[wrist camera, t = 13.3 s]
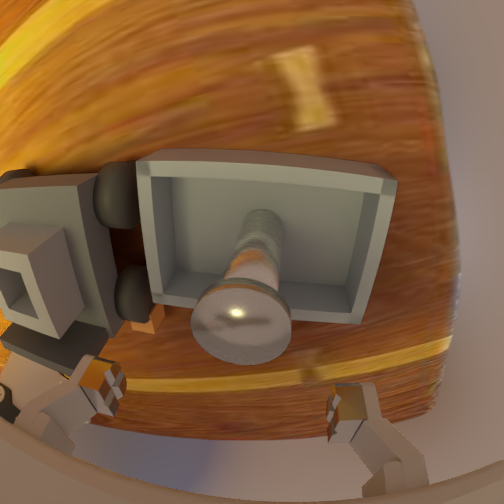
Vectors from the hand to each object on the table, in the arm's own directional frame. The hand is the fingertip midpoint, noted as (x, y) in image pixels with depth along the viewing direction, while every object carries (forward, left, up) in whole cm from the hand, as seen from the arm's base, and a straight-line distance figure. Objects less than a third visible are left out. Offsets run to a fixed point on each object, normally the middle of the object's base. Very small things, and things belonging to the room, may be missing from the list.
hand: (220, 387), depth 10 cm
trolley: (-2, +17, -15) cm, 22 cm away
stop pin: (0, 0, -14) cm, 14 cm away
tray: (0, 0, -15) cm, 15 cm away
